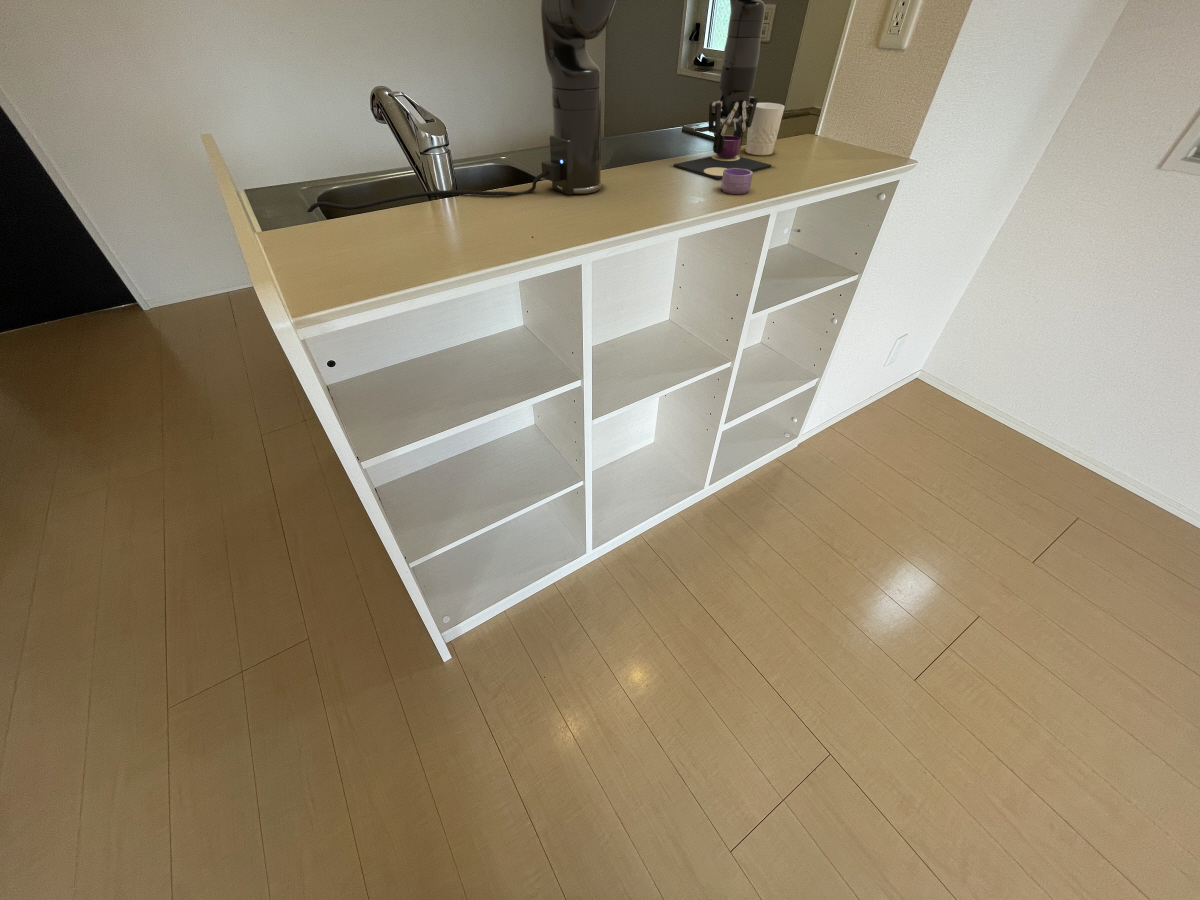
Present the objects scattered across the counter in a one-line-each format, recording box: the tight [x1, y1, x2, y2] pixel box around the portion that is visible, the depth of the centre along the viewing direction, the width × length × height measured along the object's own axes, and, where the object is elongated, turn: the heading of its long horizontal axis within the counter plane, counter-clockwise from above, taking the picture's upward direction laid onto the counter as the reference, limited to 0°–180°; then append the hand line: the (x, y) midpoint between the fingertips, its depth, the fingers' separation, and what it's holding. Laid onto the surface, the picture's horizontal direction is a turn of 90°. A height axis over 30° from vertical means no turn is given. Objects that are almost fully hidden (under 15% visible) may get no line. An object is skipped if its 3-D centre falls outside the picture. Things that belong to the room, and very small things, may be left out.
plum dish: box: [715, 134, 743, 157], centre depth 121 cm, size 6×6×4 cm
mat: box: [673, 153, 772, 181], centre depth 118 cm, size 18×15×1 cm
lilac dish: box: [720, 168, 754, 195], centre depth 103 cm, size 6×6×4 cm
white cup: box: [745, 102, 785, 156], centre depth 125 cm, size 8×8×10 cm
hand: (726, 150), depth 121 cm, fingers closed on plum dish, 6 cm apart
